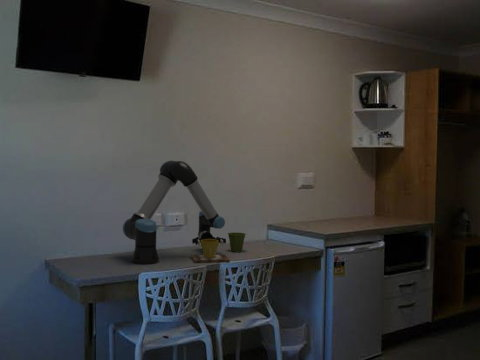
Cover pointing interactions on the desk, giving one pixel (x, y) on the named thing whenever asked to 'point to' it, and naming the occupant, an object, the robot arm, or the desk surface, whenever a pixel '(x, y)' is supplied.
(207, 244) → the plant pot
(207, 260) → the base plate
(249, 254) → the desk surface
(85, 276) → the desk surface
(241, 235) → the plant pot
